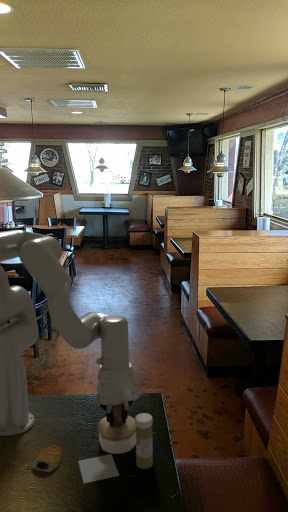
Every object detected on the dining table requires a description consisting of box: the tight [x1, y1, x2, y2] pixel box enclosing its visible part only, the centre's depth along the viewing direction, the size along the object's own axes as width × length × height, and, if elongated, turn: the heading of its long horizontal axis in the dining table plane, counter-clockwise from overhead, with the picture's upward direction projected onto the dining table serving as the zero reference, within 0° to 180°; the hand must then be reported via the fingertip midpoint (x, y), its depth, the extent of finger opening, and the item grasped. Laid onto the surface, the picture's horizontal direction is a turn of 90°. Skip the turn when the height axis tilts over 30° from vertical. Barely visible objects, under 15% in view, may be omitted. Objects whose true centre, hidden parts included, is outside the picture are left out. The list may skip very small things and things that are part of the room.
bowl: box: [98, 431, 136, 455], centre depth 118 cm, size 10×10×4 cm
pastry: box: [31, 444, 63, 473], centre depth 111 cm, size 9×7×4 cm
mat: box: [77, 453, 120, 484], centre depth 107 cm, size 9×9×1 cm
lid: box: [97, 403, 136, 439], centre depth 117 cm, size 11×11×7 cm
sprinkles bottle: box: [134, 412, 154, 470], centre depth 108 cm, size 5×5×13 cm
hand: (117, 421), depth 117 cm, fingers closed on lid, 3 cm apart
